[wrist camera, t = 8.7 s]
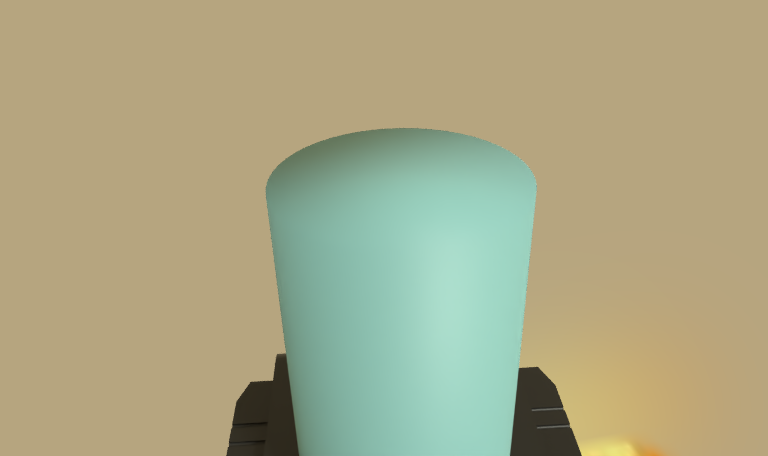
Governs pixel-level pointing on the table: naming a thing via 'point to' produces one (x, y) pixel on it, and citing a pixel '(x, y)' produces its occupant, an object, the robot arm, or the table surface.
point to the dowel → (402, 291)
